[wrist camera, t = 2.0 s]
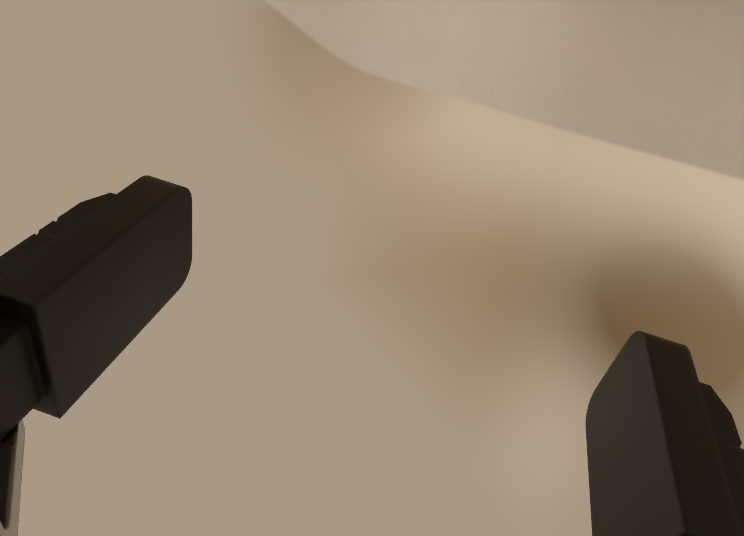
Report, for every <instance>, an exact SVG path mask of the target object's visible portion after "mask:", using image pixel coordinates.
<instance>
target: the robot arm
mask: <svg viewBox="0 0 744 536" xmlns="http://www.w3.org/2000/svg"><path fill="white" fill-rule="evenodd" d="M191 261H192V197H191V193H190V191H189V189H187V188H186V187H183V186H179V185H176V184H173V183H170V182H167V181H164V180H160V179H158V178H154V177H151V176H142V177H141V178H139V179H138V180H136V181H135V182H133V183H132V184H130V185H129V186H128V187H126V188H125V189H123V190H122V191H121V192H119V193H118V194H113V193H108V194H105V195H102V196H99V197H96V198H93V199H90V200H86V201H83V202H80V203H79V204H78V205H76V206H75V207H73V208H72V209H70V210H69V211H67V212H66V213H64V214H63V215H61V216H60V217H58V220H57V221H56V222H55V221H52V222H51V223H49V224H48V225H46V226H45V227H44V228H42V229H40V230H39V233H38V234H37V235H36V234H33V235H31V236H30V237H28V238H27V239H25V240H24V241H23V242H21V243H20V244H18V245H17V246H15V247H14V248H12V249H11V250H9V251H8V252H6V253H5V254H3V255H2V256H0V536H18V522H19V508H20V507H19V506H20V495H21V482H22V467H23V455H24V440H25V428H24V424H23V421H22V419H23V417H25V416H26V415H27V414H28V413H29V411H31V410H32V409H36V410H38V411H41V412H44V413H46V414H49V415H52V416H54V417H57V418H61V417H62V416H63V415H64V414H65V413H66V412H67V410H68V409H69V408H70V407H71V406H72V405H73V404H74V403H75V402H76V401H77V400H78V399H79V397H80V396H81V395H82V394H83V393H84V392H85V391H86V390H87V389H88V388H89V387H90V385H91V384H92V383H93V382H94V381H95V380H96V379H97V378H98V377H99V376H100V375H101V374H102V373H103V371H104V370H105V369H106V368H107V367H108V366H109V365H110V364H111V363H112V361H114V360H115V358H116V357H117V356H118V355H119V354H120V353H121V352H122V351H123V350H124V349H125V348H126V346H127V345H128V344H129V343H130V342H131V341H132V340H133V339H134V338H135V337H136V336H137V335H138V333H139V332H140V331H141V330H142V329H143V328H144V327H145V326H146V325H147V324H148V323H149V322H150V321H151V319H152V318H153V317H154V316H155V315H156V314H157V313H158V312H159V311H160V310H161V308H163V306H164V305H165V304H166V303H167V302H168V301H169V300H170V298H172V297H173V296H174V295H175V293H176V292H177V291H178V290H179V289H180V288H181V286H182V285H183V283H184V281H185V280H186V278H187V275H188V273H189V270H190V266H191ZM586 439H587V456H588V471H589V488H590V505H591V521H592V536H744V449H741V448H740V445H741V444H742V443H741V440H740V438H739V434H738V431H737V428H736V426H735V422H734V420H733V417H732V414H731V413H730V411H729V410H728V409H727V407H726V406H725V405H724V403H723V402H722V401H721V399H720V398H719V397H718V395H717V394H716V393H715V391H714V390H713V389H712V387H711V386H710V385H707V384H704V383H701V382H699V381H698V377H697V374H696V371H695V367H694V364H693V360H692V357H691V354H690V351H689V349H688V348H687V347H686V346H685V345H682V344H679V343H676V342H673V341H670V340H667V339H664V338H660V337H657V336H654V335H651V334H647V333H644V332H642V331H637V332H635V333H634V334H632V335H631V336H630V338H629V339H628V340H627V342H626V343H625V345H624V346H623V348H622V349H621V351H620V352H619V354H618V355H617V357H616V358H615V360H614V361H613V363H612V364H611V366H610V368H609V369H608V371H607V372H606V374H605V375H604V377H603V378H602V380H601V381H600V383H599V384H598V386H597V387H596V389H595V391H594V393H593V395H592V397H591V399H590V402H589V405H588V409H587V415H586Z"/></svg>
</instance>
